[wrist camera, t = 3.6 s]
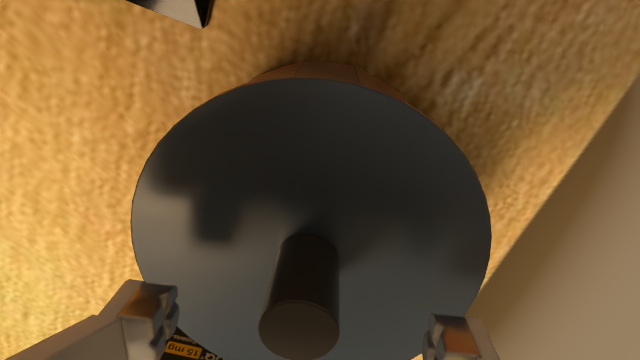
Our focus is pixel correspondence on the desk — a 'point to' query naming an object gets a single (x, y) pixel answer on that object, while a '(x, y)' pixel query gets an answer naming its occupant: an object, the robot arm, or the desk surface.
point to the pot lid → (311, 222)
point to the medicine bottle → (186, 349)
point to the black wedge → (180, 10)
